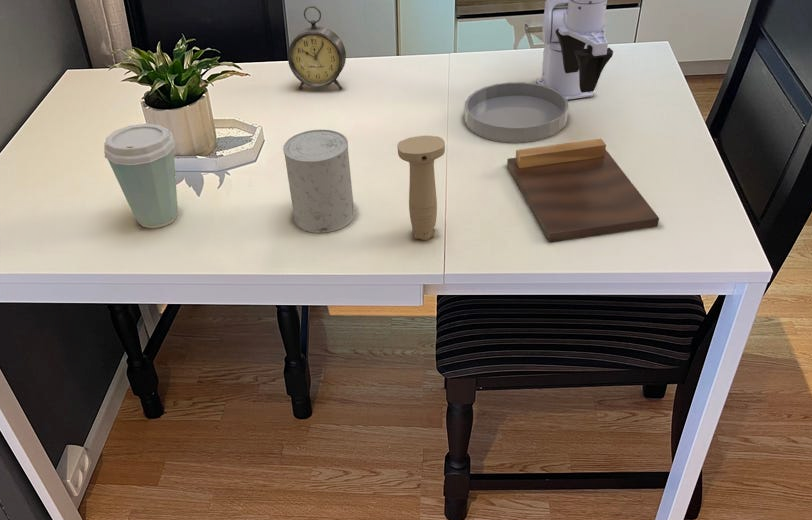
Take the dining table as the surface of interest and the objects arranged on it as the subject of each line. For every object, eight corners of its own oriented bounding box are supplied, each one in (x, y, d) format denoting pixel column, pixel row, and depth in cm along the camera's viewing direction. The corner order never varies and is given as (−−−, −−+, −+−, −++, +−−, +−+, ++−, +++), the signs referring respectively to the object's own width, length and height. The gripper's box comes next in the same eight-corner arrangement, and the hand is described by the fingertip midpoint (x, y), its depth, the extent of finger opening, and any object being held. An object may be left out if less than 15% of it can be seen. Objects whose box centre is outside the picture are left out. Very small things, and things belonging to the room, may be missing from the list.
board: (506, 166, 130) (507, 158, 129) (601, 153, 130) (602, 145, 129) (549, 242, 113) (549, 233, 112) (657, 226, 113) (659, 218, 112)
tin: (454, 103, 149) (454, 89, 147) (548, 90, 149) (549, 76, 148) (478, 148, 135) (478, 133, 133) (581, 134, 136) (582, 119, 134)
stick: (515, 162, 128) (516, 149, 126) (599, 150, 128) (601, 138, 127) (519, 168, 126) (519, 156, 124) (604, 156, 126) (606, 144, 125)
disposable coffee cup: (135, 201, 131) (110, 118, 121) (199, 198, 130) (178, 114, 120) (119, 238, 123) (90, 152, 113) (186, 235, 122) (164, 148, 112)
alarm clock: (291, 92, 158) (280, 11, 148) (299, 80, 162) (288, 0, 152) (344, 93, 156) (336, 11, 145) (350, 81, 160) (343, 0, 149)
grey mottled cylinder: (333, 239, 118) (324, 167, 110) (281, 223, 122) (269, 153, 114) (366, 207, 124) (360, 136, 116) (316, 193, 128) (307, 124, 120)
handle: (448, 241, 115) (447, 150, 105) (404, 247, 115) (400, 156, 105) (442, 223, 118) (441, 133, 109) (400, 229, 118) (395, 139, 109)
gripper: (547, -14, 127) (541, 67, 136) (578, 17, 116) (570, 103, 124) (590, -20, 127) (581, 61, 136) (625, 11, 116) (613, 97, 125)
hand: (579, 81), depth 130 cm, fingers open, 7 cm apart
